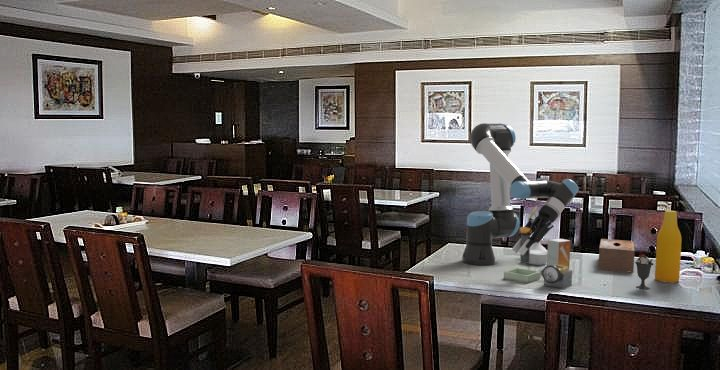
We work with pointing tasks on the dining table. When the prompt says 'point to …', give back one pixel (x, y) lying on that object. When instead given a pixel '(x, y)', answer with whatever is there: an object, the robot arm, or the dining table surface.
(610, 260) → the tissue box cover
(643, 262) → the sundae
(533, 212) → the flower in vase
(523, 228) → the orange capped bottle
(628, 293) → the dining table surface
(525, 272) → the tray
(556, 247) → the small box
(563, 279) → the tensioner block
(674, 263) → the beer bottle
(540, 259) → the ramekin
